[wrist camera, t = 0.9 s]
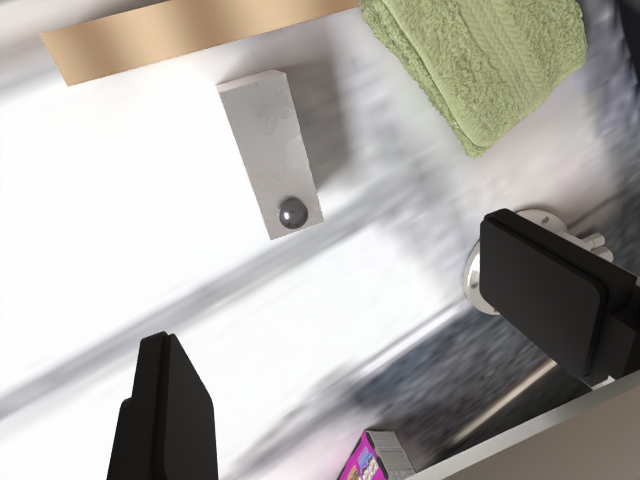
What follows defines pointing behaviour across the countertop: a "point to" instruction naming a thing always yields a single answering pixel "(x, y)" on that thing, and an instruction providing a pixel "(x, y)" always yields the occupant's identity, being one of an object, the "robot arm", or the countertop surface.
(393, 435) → the candy bar box
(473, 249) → the robot arm
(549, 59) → the washcloth
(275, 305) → the countertop surface
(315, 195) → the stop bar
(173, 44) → the rail
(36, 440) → the countertop surface
